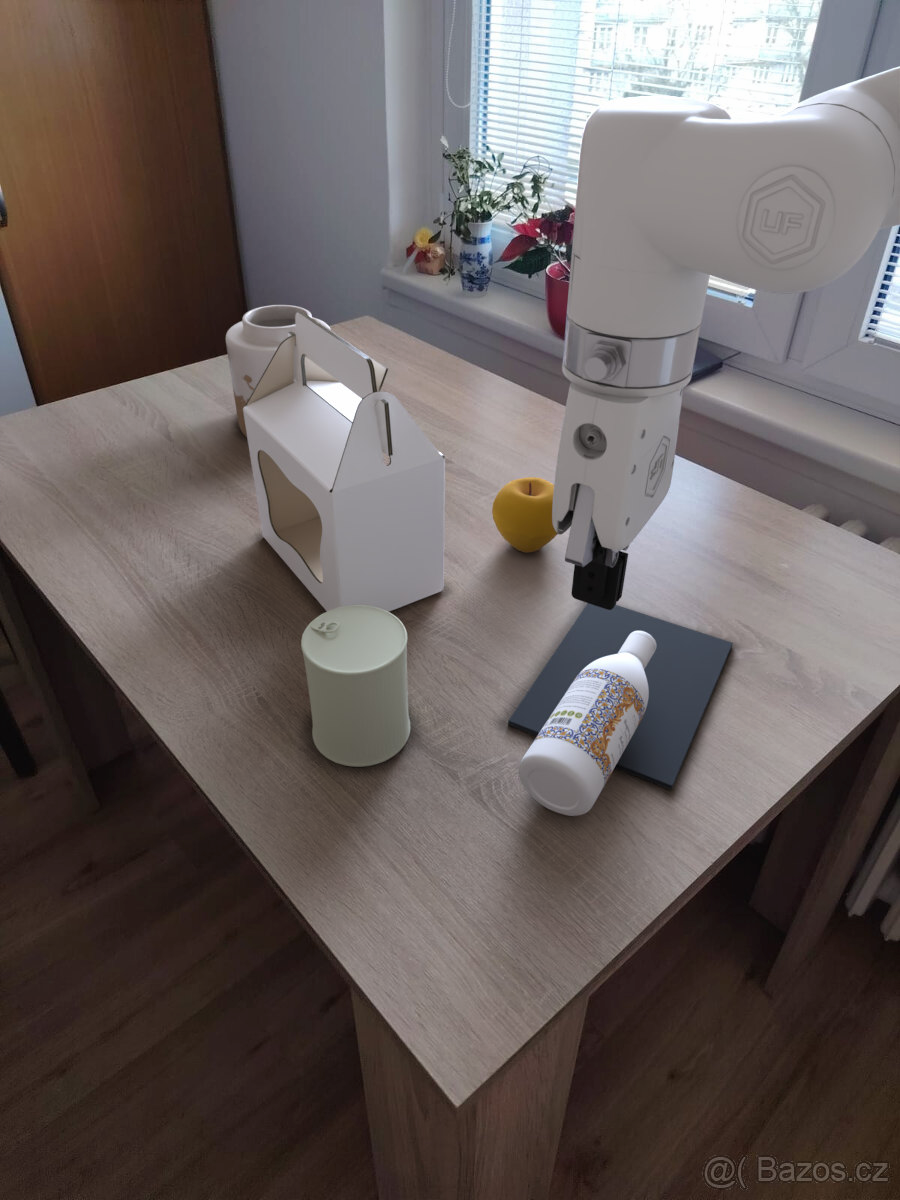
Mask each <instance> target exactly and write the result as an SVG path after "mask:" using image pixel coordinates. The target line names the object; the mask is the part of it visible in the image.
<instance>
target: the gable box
mask: <svg viewBox="0 0 900 1200" xmlns="http://www.w3.org/2000/svg"><path fill="white" fill-rule="evenodd" d="M314 318H315V317H314ZM314 318H311V317H309V316H308V315H306V314H305V313H303V312H297V313H296V315H295V326H296V334H295V333H293V332H288V338H286V339H285V340H284V341H282V342H281V344H280V345H279V346H278V348H277V350H276V352H275V353H274V355H273V357H272V359H271V361H270V362H269V364H268V366H267V368H266V369H265V371H264V373H263V375H262V377H261V378H260V380H259V382H258V384H257V385H256V387H255V389H254V391H253V392H252V394H251V396H250V398H249V400H248V401H247V403H246V405H245V407H244V408H243V413H244V419H245V426H246V432H247V436H246V438H247V445H248V450H249V457H250V464H251V471H252V477H253V483H254V490H255V497H256V502H257V510H258V516H259V522H260V529H261V535H262V537H263V538H264V540H265V541H266V542H267V543H268V544H269V546H271V548H272V549H273V550H274V552H276V553H277V555H278V556H279V557H280V558H281V559H282V561H283V562H284V563H285V564H286V566H287V567H288V568H289V569H290V570H291V571H292V572H293V574H294V575H295V576H296V577H297V579H298V580H299V581H300V582H301V583H302V584H303V586H305V588H306V589H307V590H308V591H309V592H310V594H311V595H312V596H313V597H314V598H315V599H316V600H317V602H318V603H319V604H320V605H321V607H322V608H323V609H324V610H325V611H326V612H327V611H330V610H332V609H336V608H339V607H344V606H352V605H364V606H372V607H377V608H380V609H383V610H385V611H388V612H392V611H396V610H397V609H399V608H402V607H404V606H407V605H410V604H413V603H414V602H417V601H420V600H422V599H425V598H428V597H430V596H433V595H435V594H438V593H441V592H442V591H443V590H444V589H445V588H444V587H445V508H446V507H445V504H446V503H445V499H446V497H445V495H446V494H445V490H446V456H445V455H444V453H442V452H440V451H439V450H438V449H437V448H436V447H435V445H434V444H433V443H432V441H431V440H430V439H429V438H428V436H427V435H426V434H425V432H424V431H423V430H422V428H421V427H420V426H419V424H418V423H417V422H416V421H415V419H414V418H413V416H411V414H410V413H409V412H408V410H407V409H406V408H405V407H404V405H403V404H402V403H401V402H400V400H399V399H398V398H397V397H396V396H395V395H394V394H393V393H391V392H389V391H383V390H382V387H383V385H384V383H385V379H386V376H387V374H388V372H389V368H388V367H386V366H385V365H384V364H382V363H380V362H379V361H377V360H376V359H375V358H373V357H371V356H370V355H369V354H367V353H365V352H364V351H363V350H362V349H361V348H358V347H357V346H355V345H354V344H353V343H351V342H349V341H348V340H346V339H345V338H344V337H342V336H340V335H339V334H338V333H336V332H335V331H333V330H332V329H331V328H330V329H331V330H330V329H329V328H327V327H326V326H325V325H323V324H322V323H320V322H319V321H317V320H316V319H314ZM294 379H295V380H296V381H297V382H295V383H294ZM383 453H384V454H385V455H387V456H388V457H389V463H388V464H385V460H384V455H383Z"/></svg>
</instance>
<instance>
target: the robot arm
mask: <svg viewBox="0 0 900 1200" xmlns="http://www.w3.org/2000/svg"><path fill="white" fill-rule="evenodd" d="M578 159H579V160H578V172H577V184H576V193H575V194H576V195H575V196H576V197H575V206H574V207H575V208H574V220H573V231H572V232H573V233H572V245H571V256H570V269H569V282H568V293H567V294H568V295H567V306H566V316H565V329H564V341H563V353H562V363H561V370H562V374H563V375H564V378H566V379H567V380H568V381H569V382H570V384H569V388H568V393H567V399H566V403H565V408H564V414H563V419H562V425H561V432H560V437H559V443H558V452H557V459H556V466H555V473H554V482H553V483H554V484H553V485H554V492H553V507H552V522H553V527H554V529H555V531H556V532H557V535H563V534H564V533H566V532H567V531H568V530H569V529H570V530H569V534H568V539H567V545H566V550H565V555H564V562H565V563H569V564H572V565H574V567H573V575H572V584H571V596H572V598H574V599H575V600H578V601H579V602H580V601H581V602H582V603H583V602H584V603H586V604H587V603H589V604H592V605H595V606H598V607H601V608H604V609H607V610H612V609H613V608H614V606H615V605H617V603H618V602H619V601H620V599H621V598H622V596H623V591H624V583H625V578H626V577H625V576H626V571H627V566H628V565H627V564H628V559H629V558H628V557H629V553H628V552H626V551H627V550H628V549H629V547H630V545H631V544H632V543H633V541H634V540H635V539H636V538H637V536H638V535H639V533H640V532H641V531H642V530H643V528H645V526H646V525H647V523H648V522H649V521H650V519H651V518H652V517H653V515H654V514H655V513H656V511H657V510H658V509H659V507H660V505H661V504H662V503H663V502H664V500H665V499H666V496H667V495H668V493H669V491H670V488H671V484H672V478H673V473H674V465H675V457H676V450H677V443H678V436H679V435H678V434H679V427H680V419H681V412H682V402H683V392H684V391H683V389H684V388H686V387H687V386H688V384H689V383H690V382H691V380H692V375H693V368H694V365H695V359H696V353H697V348H698V344H699V343H698V342H699V337H700V331H701V327H702V320H703V315H704V310H705V309H704V308H705V303H706V296H707V292H708V287H709V282H710V277H711V276H712V277H715V278H717V279H719V280H723V281H726V282H729V283H732V284H734V285H735V284H736V285H738V286H741V287H745V288H747V289H751V290H755V291H760V292H765V293H770V294H780V295H792V294H800V293H807V292H811V291H814V290H817V289H820V288H822V287H824V286H827V285H828V284H832V282H834V281H836V280H838V279H839V278H841V277H842V276H843V275H845V274H847V272H849V271H850V270H851V269H852V268H853V267H854V266H855V265H856V264H857V263H858V262H859V261H860V259H861V258H862V257H863V256H864V255H865V253H866V252H867V251H868V250H869V247H870V246H871V245H872V243H873V242H874V239H875V238H876V237H877V234H878V232H879V231H880V230H884V229H888V228H892V227H896V226H900V65H899V66H896V67H893V68H889V69H887V70H885V71H884V70H883V71H881V72H878V73H875V74H873V75H869V76H866V77H863V78H860V79H858V80H855V81H852V82H849V83H848V82H847V83H846V84H843V85H840V86H837V87H833V88H831V89H828V90H826V91H823V92H820V93H817V94H815V95H813V96H810V97H808V98H806V99H804V100H802V101H800V102H798V103H797V104H795V105H793V106H791V107H789V108H788V109H787V110H785V111H783V112H781V113H778V114H773V115H771V116H768V117H759V118H732V117H731V116H730V114H729V113H728V112H727V111H726V110H725V108H723V107H722V106H720V105H717V104H715V103H714V102H711V101H708V100H701V99H697V98H696V99H695V98H689V97H679V96H655V95H653V96H652V95H651V96H633V97H624V98H617V99H612V100H610V101H607V102H604V103H601V104H600V105H598V106H597V107H596V108H595V109H594V110H593V111H592V112H591V113H590V115H589V116H588V117H587V120H586V121H585V123H584V127H583V130H582V134H581V141H580V149H579V158H578Z"/></svg>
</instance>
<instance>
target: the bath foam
mask: <svg viewBox="0 0 900 1200" xmlns="http://www.w3.org/2000/svg"><path fill="white" fill-rule="evenodd" d="M656 646H657V645H656V641H655V640H654V638H653V637H652V636H651V635H650V634H648V633H646V632H644V631H634V632H632V633H631V634H630V635H629V636H628V638H627V639H626V641H625V642H624V644H623V646H622V647H621V649H620V650H619V652H618V654H614V655H609V656H605V657H602V658H599V659H597V660H595V661H593V662H592V663H590V664H589V665H587V666H586V667H585V668H584V669H583V670H582V671H581V672H580V673H579V674H578V675H577V677H576V678H575V680H574V681H573V683H572V684H571V686H570V687H569V689H568V690H567V692H566V693H565V695H564V696H563V698H562V699H561V701H560V702H559V704H558V705H557V707H556V708H555V710H554V711H553V713H552V714H551V716H550V717H549V719H548V720H547V722H546V723H545V725H544V726H543V728H542V729H541V731H540V732H539V734H538V735H537V736H535V738H534V739H533V741H532V743H531V745H530V747H529V748H528V750H526V753H525V754H524V756H522V758H521V761H520V763H519V764H518V777H519V780H520V783H521V784H522V786H523V788H524V790H525V791H526V792H527V793H528V794H529V796H530V797H531V798H533V799H534V800H535V801H536V802H537V803H538V804H540V805H541V806H542V807H544V808H546V809H547V810H550V811H552V812H555V813H556V814H557V813H558V814H561V815H563V816H569V817H579V816H582V815H585V814H587V813H588V812H589V811H590V810H591V809H592V808H593V807H594V806H595V803H596V802H597V799H598V798H599V796H600V794H601V792H602V791H603V789H604V788H605V785H606V784H607V783H608V781H609V779H610V777H611V775H612V773H613V771H614V769H616V768H615V766H616V764H617V762H618V761H619V759H620V757H621V755H622V753H623V752H624V750H625V748H626V746H627V745H628V743H629V741H630V739H631V737H632V736H633V734H634V732H635V730H636V728H637V727H638V725H639V723H640V721H641V719H642V718H643V716H644V713H645V710H646V707H647V703H648V697H649V689H648V682H647V678H646V675H645V671H644V669H645V667H646V666H647V664H648V662H649V661H650V659H651V657H652V656H653V654H654V652H655V650H656Z"/></svg>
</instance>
